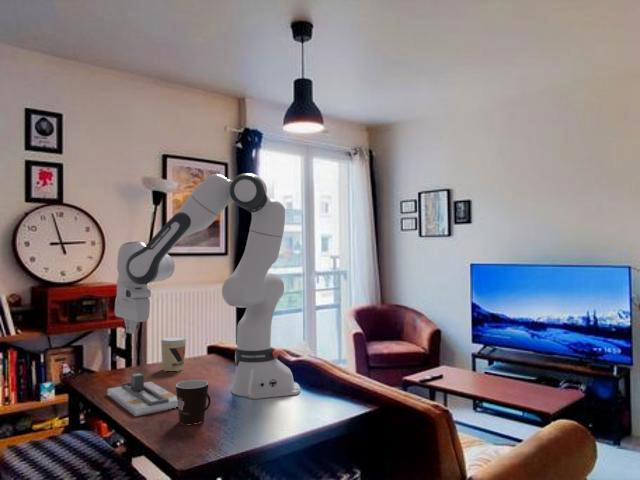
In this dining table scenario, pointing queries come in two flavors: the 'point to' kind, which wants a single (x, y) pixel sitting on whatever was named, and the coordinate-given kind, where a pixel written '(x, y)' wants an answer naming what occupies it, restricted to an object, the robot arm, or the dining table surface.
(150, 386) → the console
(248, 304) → the robot arm
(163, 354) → the coffee cup
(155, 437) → the dining table surface
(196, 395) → the coffee mug
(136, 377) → the fader knob
